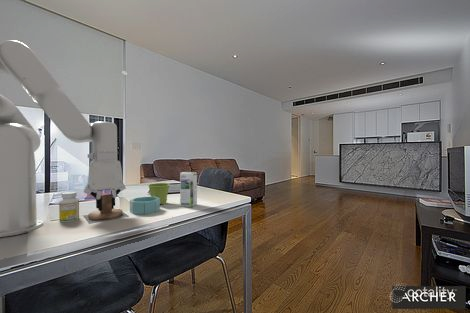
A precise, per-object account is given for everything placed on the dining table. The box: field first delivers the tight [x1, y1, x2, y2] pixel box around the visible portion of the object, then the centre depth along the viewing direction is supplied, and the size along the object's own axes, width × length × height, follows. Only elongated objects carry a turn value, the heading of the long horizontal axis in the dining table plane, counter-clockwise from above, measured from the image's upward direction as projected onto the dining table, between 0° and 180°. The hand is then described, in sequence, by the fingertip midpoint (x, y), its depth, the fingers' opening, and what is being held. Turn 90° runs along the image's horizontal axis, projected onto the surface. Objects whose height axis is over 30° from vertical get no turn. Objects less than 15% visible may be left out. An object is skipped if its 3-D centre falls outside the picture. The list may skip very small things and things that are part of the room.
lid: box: [87, 192, 123, 221], centre depth 79 cm, size 10×10×8 cm
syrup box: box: [179, 171, 198, 208], centre depth 96 cm, size 6×6×14 cm
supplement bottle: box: [58, 191, 80, 223], centre depth 75 cm, size 5×5×10 cm
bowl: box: [129, 196, 161, 215], centre depth 86 cm, size 10×10×5 cm
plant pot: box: [147, 182, 171, 205], centre depth 100 cm, size 9×9×9 cm
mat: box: [82, 211, 130, 225], centre depth 79 cm, size 12×12×1 cm
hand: (105, 208), depth 79 cm, fingers closed on lid, 3 cm apart
